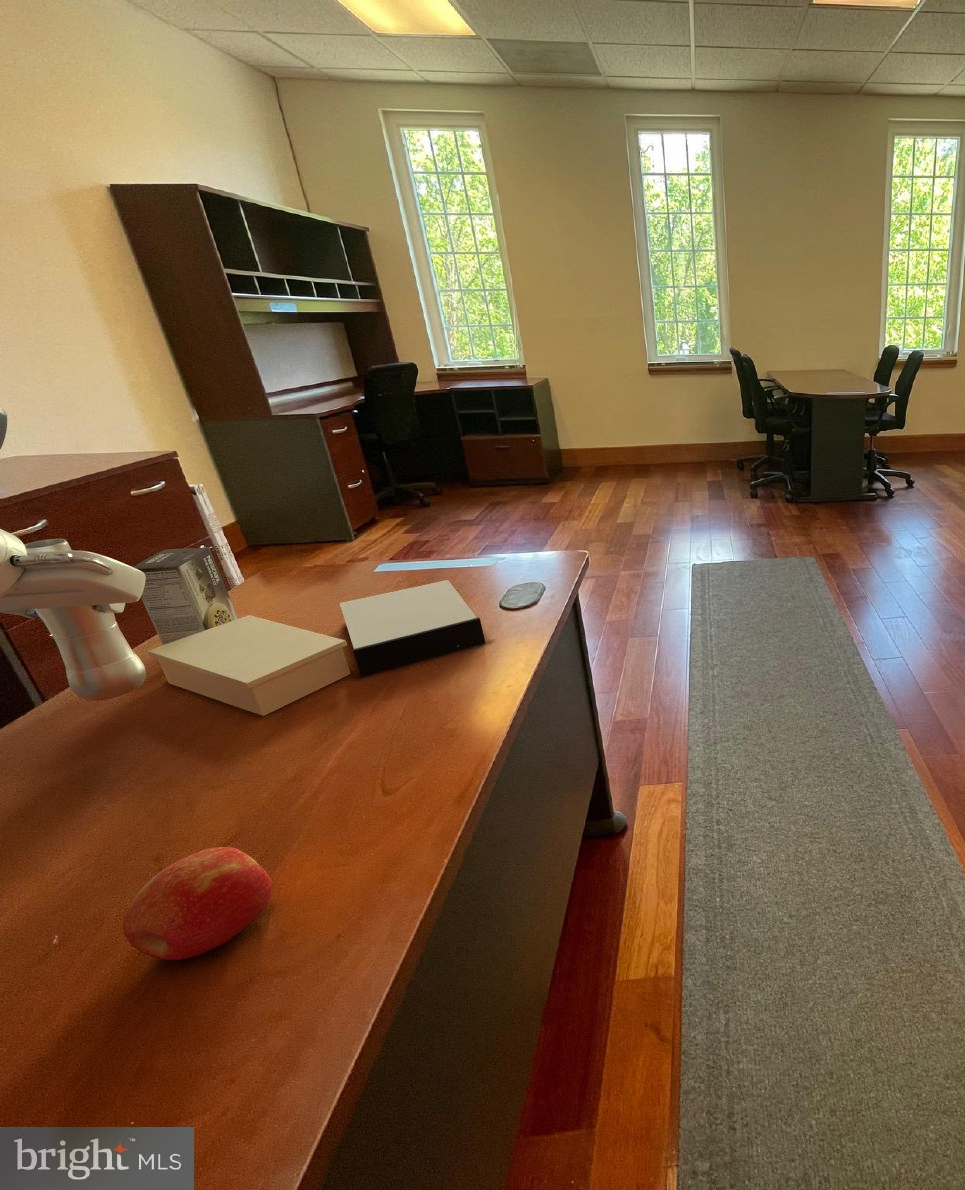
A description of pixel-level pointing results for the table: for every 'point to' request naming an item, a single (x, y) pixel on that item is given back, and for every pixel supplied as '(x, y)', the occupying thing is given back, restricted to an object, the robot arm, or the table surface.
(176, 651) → the flat beige lidded box
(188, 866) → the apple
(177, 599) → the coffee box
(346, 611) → the disc drive
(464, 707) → the table surface
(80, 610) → the plastic bottle
